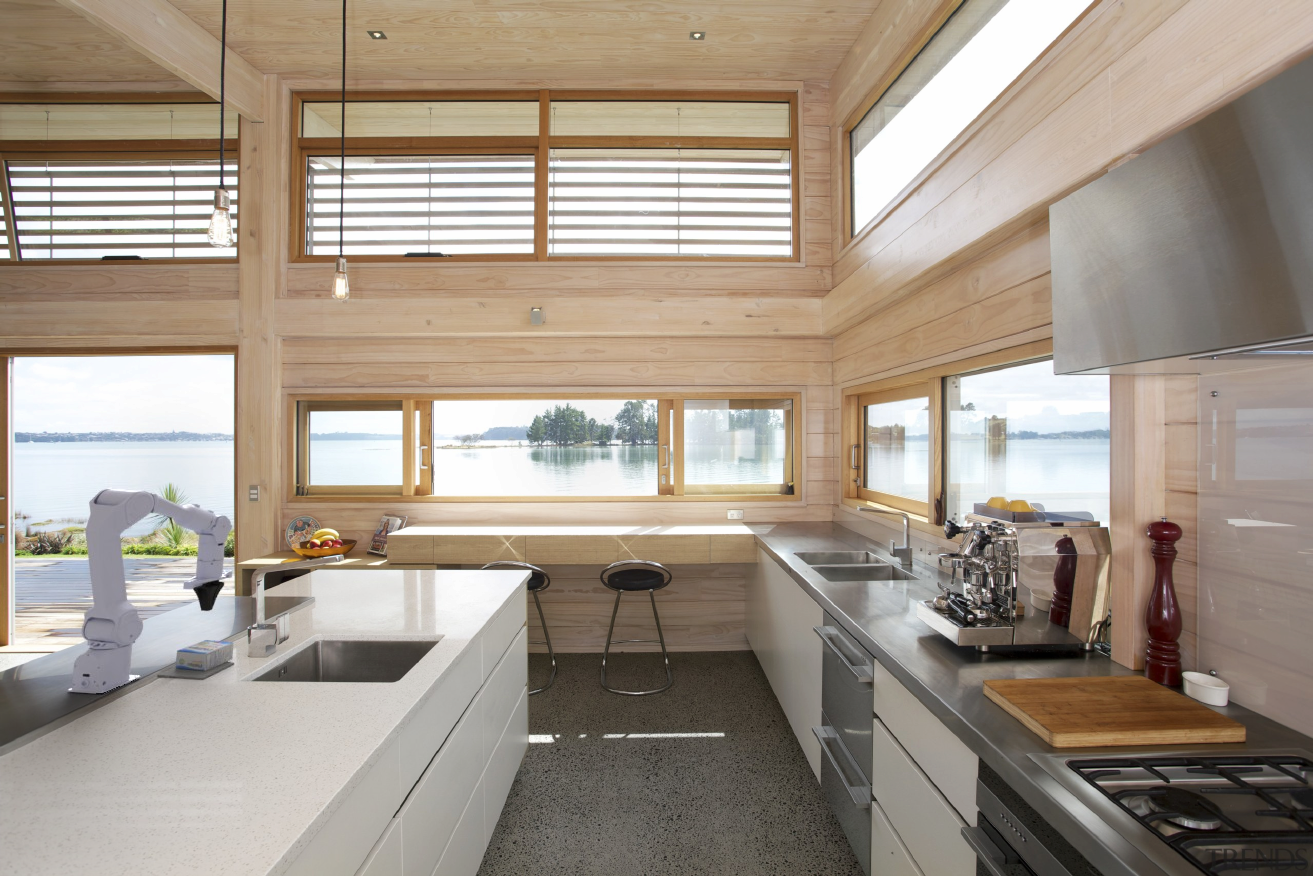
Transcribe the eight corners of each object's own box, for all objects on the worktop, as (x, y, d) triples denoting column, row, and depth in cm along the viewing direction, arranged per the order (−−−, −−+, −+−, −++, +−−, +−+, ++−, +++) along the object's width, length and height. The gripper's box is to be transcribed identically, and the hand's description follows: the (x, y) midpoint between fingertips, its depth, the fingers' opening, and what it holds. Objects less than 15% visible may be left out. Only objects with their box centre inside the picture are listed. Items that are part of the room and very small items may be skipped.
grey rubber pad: (203, 679, 139) (203, 677, 139) (157, 676, 140) (157, 674, 140) (234, 664, 149) (234, 662, 149) (191, 661, 150) (191, 659, 150)
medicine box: (234, 642, 152) (206, 653, 143) (233, 659, 151) (204, 671, 143) (206, 639, 152) (175, 650, 144) (204, 657, 152) (174, 668, 143)
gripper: (204, 565, 151) (200, 618, 151) (244, 555, 166) (240, 604, 165) (177, 563, 151) (172, 617, 151) (219, 553, 166) (215, 602, 166)
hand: (206, 610), depth 158 cm, fingers closed
